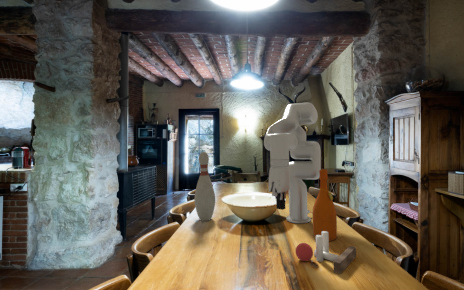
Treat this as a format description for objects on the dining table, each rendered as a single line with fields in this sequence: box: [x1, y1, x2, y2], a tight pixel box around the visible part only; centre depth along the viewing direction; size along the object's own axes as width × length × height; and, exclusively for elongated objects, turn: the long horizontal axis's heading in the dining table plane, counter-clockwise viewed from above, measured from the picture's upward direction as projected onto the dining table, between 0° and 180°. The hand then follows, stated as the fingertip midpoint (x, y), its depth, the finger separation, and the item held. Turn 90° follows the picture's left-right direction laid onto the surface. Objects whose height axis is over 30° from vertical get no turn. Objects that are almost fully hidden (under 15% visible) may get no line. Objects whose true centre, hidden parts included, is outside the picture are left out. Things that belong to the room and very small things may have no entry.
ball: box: [295, 242, 314, 262], centre depth 91 cm, size 6×6×6 cm
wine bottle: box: [312, 168, 338, 242], centre depth 112 cm, size 10×10×30 cm
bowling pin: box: [193, 151, 216, 222], centre depth 144 cm, size 11×12×38 cm
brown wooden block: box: [333, 245, 357, 275], centre depth 88 cm, size 16×2×4 cm, turn 138°
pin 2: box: [321, 231, 330, 253], centre depth 95 cm, size 2×2×8 cm
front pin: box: [313, 248, 340, 262], centre depth 92 cm, size 2×2×8 cm
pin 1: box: [315, 235, 324, 262], centre depth 91 cm, size 2×2×8 cm
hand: (280, 208), depth 104 cm, fingers closed
